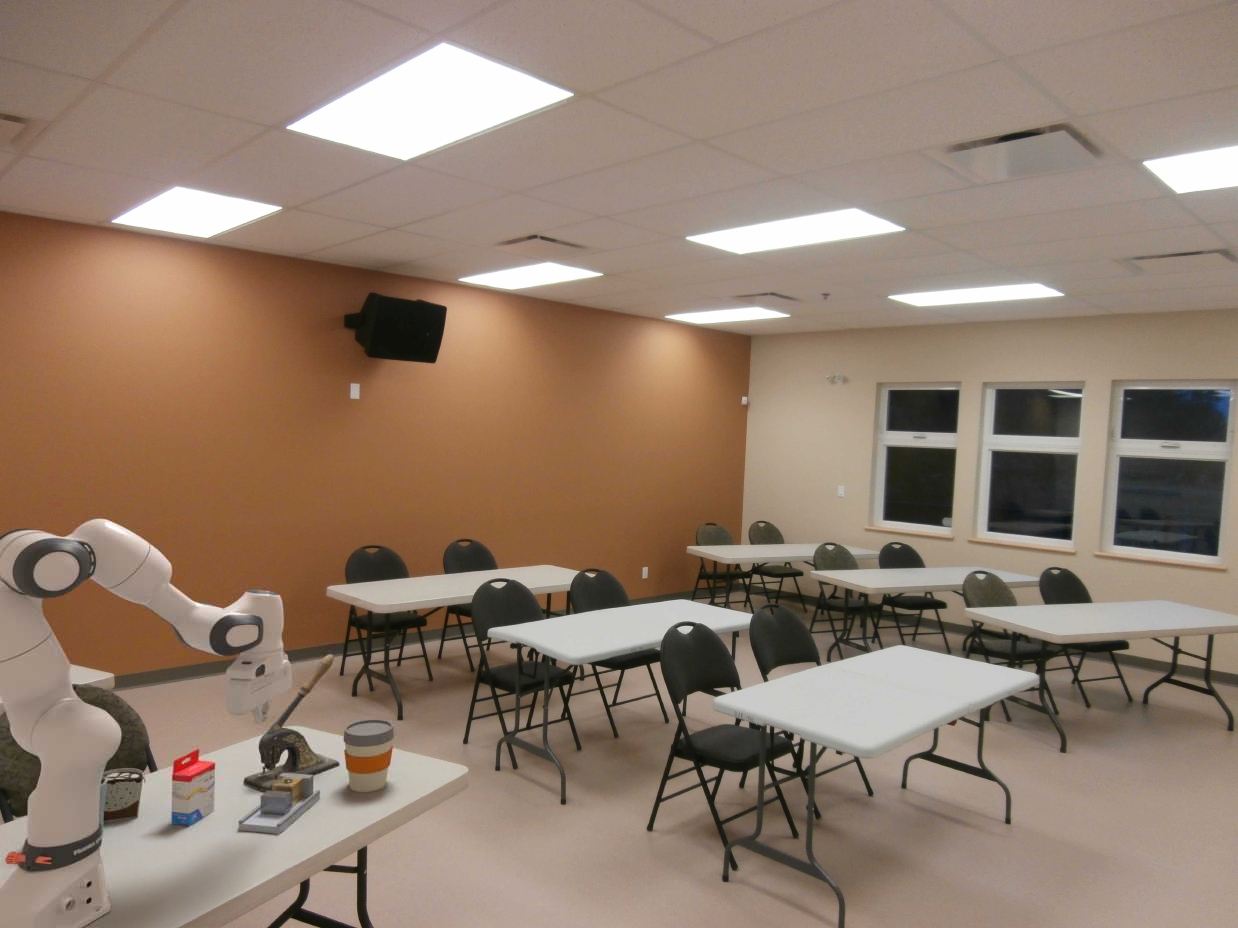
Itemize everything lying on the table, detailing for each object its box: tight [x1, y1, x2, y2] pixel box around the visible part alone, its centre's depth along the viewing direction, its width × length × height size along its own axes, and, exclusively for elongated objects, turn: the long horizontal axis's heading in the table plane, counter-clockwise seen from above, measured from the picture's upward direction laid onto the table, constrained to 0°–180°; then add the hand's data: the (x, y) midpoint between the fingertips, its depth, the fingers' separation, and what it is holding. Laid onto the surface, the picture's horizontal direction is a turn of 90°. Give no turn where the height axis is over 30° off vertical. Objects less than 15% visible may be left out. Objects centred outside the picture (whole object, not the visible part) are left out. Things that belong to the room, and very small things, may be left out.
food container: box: [103, 767, 147, 823], centre depth 184 cm, size 12×6×10 cm, turn 113°
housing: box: [272, 777, 303, 807], centre depth 189 cm, size 5×5×5 cm
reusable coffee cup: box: [342, 718, 395, 793], centre depth 204 cm, size 12×12×15 cm
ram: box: [260, 790, 292, 815], centre depth 185 cm, size 4×6×4 cm
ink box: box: [171, 748, 216, 827], centre depth 184 cm, size 8×5×15 cm, turn 168°
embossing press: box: [243, 653, 340, 792], centre depth 209 cm, size 11×24×30 cm, turn 145°
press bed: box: [238, 773, 321, 835], centre depth 186 cm, size 18×10×6 cm, turn 173°
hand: (260, 721), depth 177 cm, fingers closed
